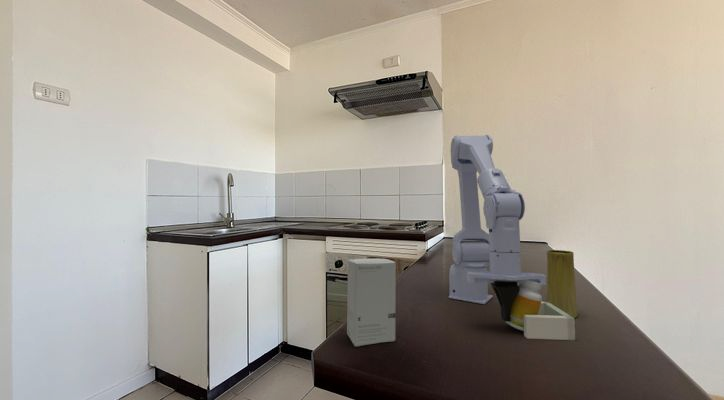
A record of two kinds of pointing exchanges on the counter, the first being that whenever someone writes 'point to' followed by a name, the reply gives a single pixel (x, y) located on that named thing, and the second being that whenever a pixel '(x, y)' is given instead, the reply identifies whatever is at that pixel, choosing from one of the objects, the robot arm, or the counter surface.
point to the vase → (561, 281)
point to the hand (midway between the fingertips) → (506, 320)
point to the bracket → (549, 324)
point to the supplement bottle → (525, 303)
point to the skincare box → (371, 301)
